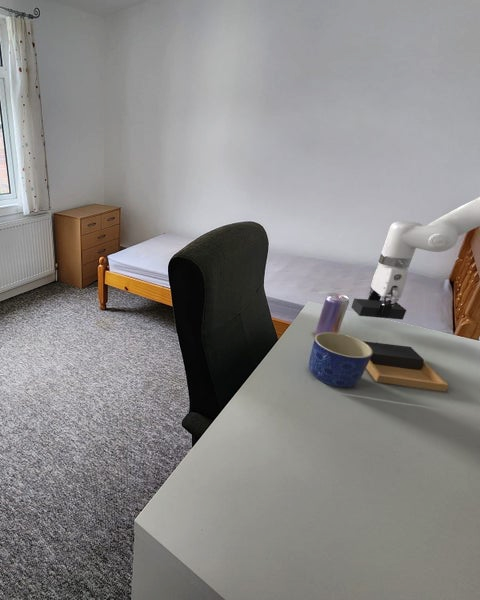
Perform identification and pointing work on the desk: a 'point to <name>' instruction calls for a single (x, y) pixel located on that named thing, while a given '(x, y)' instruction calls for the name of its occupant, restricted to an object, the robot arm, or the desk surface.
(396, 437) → the desk surface
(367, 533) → the desk surface
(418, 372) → the frame
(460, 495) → the desk surface
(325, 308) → the beverage can
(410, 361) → the pad
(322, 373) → the planter
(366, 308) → the loose pad
